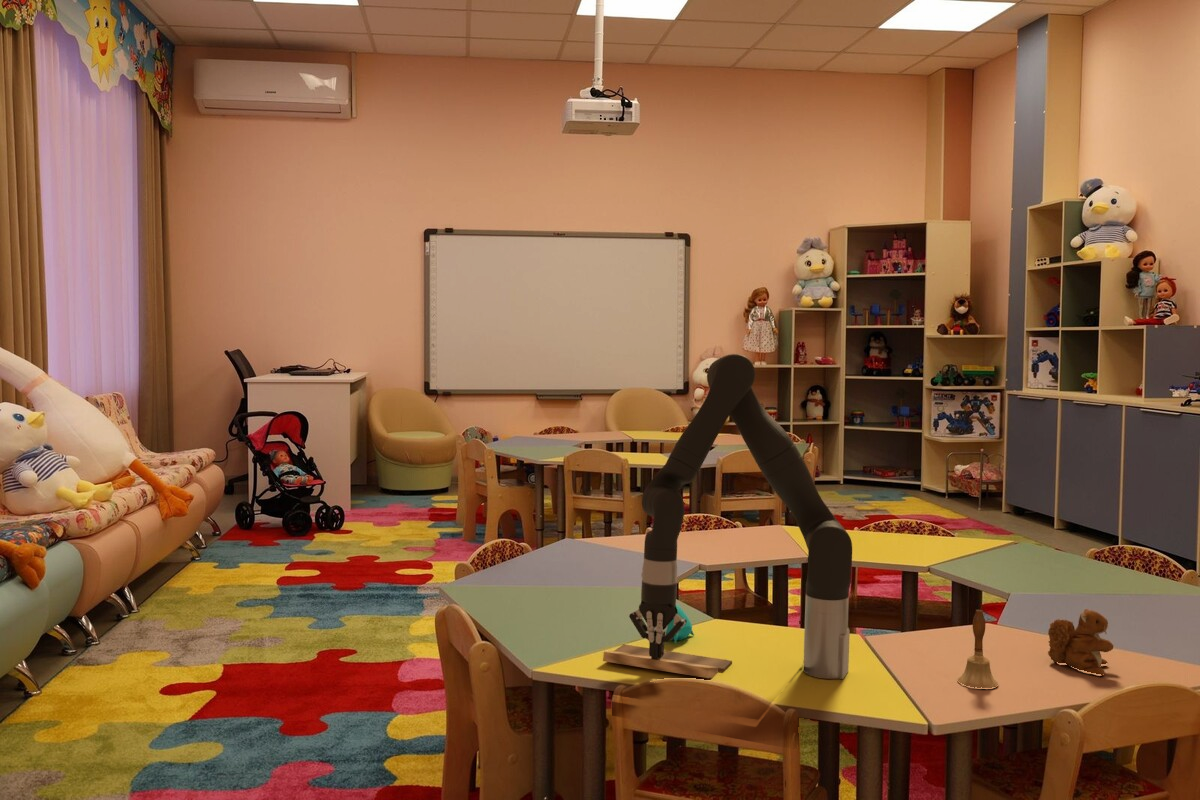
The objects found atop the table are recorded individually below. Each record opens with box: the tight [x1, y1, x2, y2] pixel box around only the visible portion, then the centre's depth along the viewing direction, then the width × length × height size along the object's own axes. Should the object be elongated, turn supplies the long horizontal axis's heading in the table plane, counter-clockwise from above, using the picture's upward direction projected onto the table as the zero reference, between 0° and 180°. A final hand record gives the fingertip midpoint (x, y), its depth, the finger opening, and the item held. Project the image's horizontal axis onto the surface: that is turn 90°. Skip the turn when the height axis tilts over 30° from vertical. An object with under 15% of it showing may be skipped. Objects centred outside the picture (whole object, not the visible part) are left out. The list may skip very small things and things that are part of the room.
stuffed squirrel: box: [1047, 608, 1114, 675], centre depth 230 cm, size 10×14×13 cm
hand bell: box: [957, 609, 999, 688], centre depth 217 cm, size 8×8×16 cm
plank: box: [602, 650, 719, 679], centre depth 221 cm, size 24×7×2 cm, turn 66°
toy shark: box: [666, 604, 695, 644], centre depth 243 cm, size 10×18×11 cm, turn 178°
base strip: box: [614, 644, 733, 673], centre depth 227 cm, size 26×6×2 cm, turn 66°
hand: (656, 658), depth 219 cm, fingers closed
